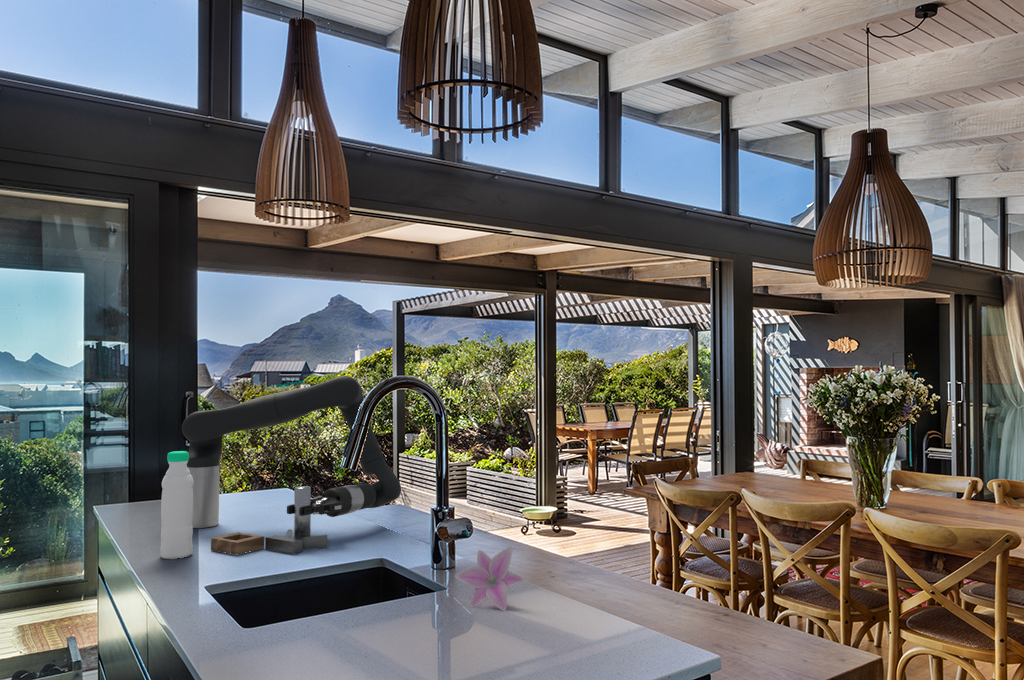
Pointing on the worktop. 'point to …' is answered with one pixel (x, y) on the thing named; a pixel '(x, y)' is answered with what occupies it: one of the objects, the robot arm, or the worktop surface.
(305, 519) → the gray rectangular bar
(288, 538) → the v block
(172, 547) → the water bottle
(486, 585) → the lily
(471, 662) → the worktop surface
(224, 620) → the worktop surface
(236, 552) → the brown wooden open box
